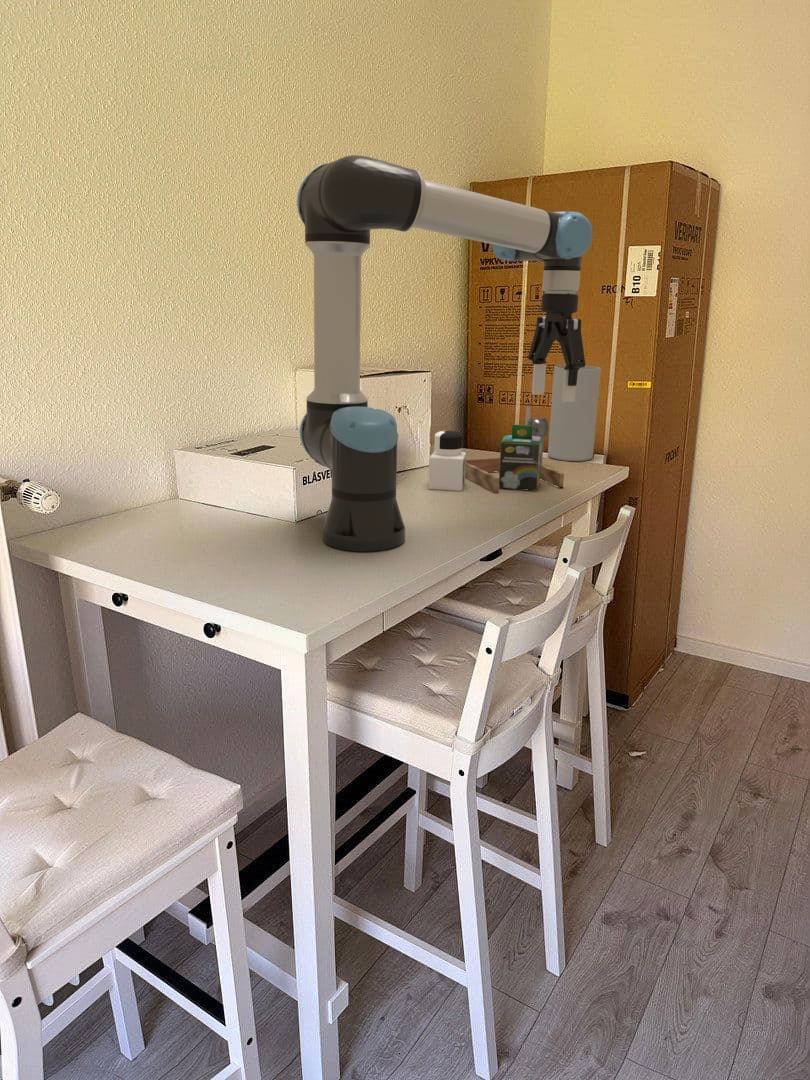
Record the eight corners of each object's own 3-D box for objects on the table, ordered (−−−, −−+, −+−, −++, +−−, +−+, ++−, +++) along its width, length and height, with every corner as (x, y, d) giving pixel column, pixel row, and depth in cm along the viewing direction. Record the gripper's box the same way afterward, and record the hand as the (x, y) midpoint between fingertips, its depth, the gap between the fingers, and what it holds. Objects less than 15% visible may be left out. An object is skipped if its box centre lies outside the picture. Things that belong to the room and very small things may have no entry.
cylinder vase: (543, 452, 225) (549, 364, 218) (585, 453, 226) (593, 365, 219) (553, 461, 214) (560, 369, 206) (598, 462, 214) (607, 369, 207)
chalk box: (539, 483, 189) (544, 422, 185) (537, 491, 181) (541, 428, 176) (501, 480, 191) (505, 420, 187) (497, 489, 182) (501, 426, 178)
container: (465, 483, 187) (467, 430, 183) (461, 491, 179) (463, 435, 176) (433, 482, 188) (434, 428, 184) (428, 489, 181) (429, 433, 177)
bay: (562, 488, 184) (564, 473, 183) (494, 493, 178) (495, 478, 177) (520, 469, 203) (521, 456, 202) (457, 473, 197) (458, 460, 196)
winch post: (545, 468, 205) (549, 407, 200) (527, 469, 203) (531, 408, 198) (535, 464, 209) (540, 404, 205) (518, 465, 208) (522, 405, 203)
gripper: (609, 293, 152) (599, 404, 158) (546, 292, 174) (539, 390, 180) (576, 292, 149) (567, 405, 156) (516, 292, 171) (510, 391, 178)
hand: (552, 397), depth 168 cm, fingers open, 12 cm apart
